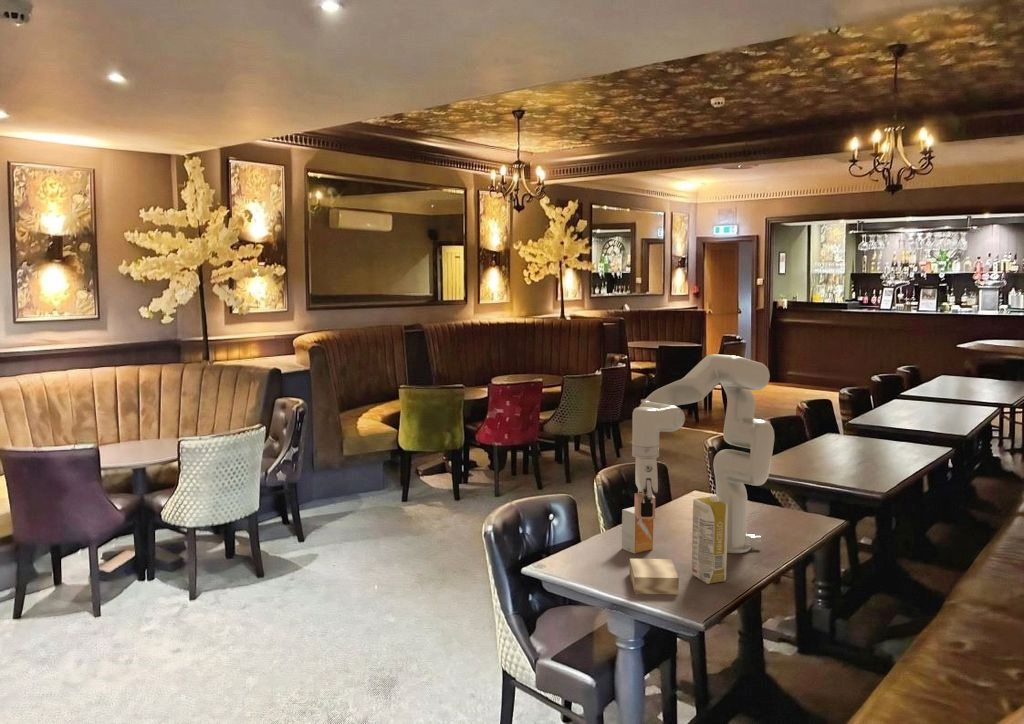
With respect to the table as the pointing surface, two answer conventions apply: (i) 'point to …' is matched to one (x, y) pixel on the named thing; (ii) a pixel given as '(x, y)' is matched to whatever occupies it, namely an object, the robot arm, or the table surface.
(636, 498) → the terracotta block
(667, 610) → the table surface
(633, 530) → the small box
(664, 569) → the birch block
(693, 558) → the juice carton
